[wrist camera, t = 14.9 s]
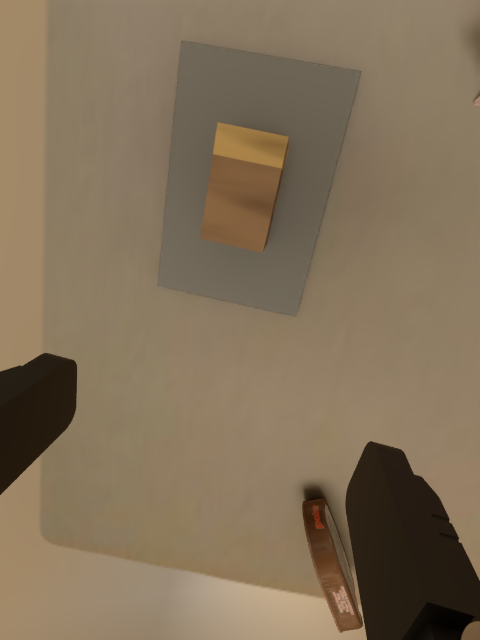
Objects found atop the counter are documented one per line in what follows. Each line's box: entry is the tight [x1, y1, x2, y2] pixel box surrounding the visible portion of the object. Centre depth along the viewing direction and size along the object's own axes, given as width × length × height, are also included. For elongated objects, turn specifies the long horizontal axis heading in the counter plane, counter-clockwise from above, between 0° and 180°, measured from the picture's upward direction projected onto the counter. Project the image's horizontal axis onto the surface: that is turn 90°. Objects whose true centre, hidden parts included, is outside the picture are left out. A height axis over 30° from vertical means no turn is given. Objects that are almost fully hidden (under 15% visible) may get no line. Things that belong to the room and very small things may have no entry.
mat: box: [158, 41, 361, 317], centre depth 29 cm, size 20×14×1 cm
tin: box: [302, 499, 363, 632], centre depth 38 cm, size 15×3×8 cm, turn 20°
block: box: [200, 122, 289, 253], centre depth 26 cm, size 5×5×8 cm
